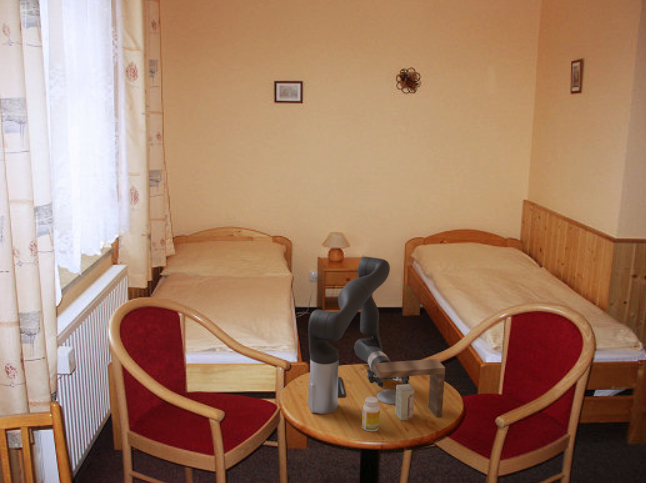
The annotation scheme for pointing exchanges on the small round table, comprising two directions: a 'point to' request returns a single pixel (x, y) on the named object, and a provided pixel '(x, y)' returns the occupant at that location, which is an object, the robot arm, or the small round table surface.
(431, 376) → the walnut shelf
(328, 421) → the small round table surface
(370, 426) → the supplement bottle
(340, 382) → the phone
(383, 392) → the rubber coaster
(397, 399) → the skincare box
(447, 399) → the small round table surface
